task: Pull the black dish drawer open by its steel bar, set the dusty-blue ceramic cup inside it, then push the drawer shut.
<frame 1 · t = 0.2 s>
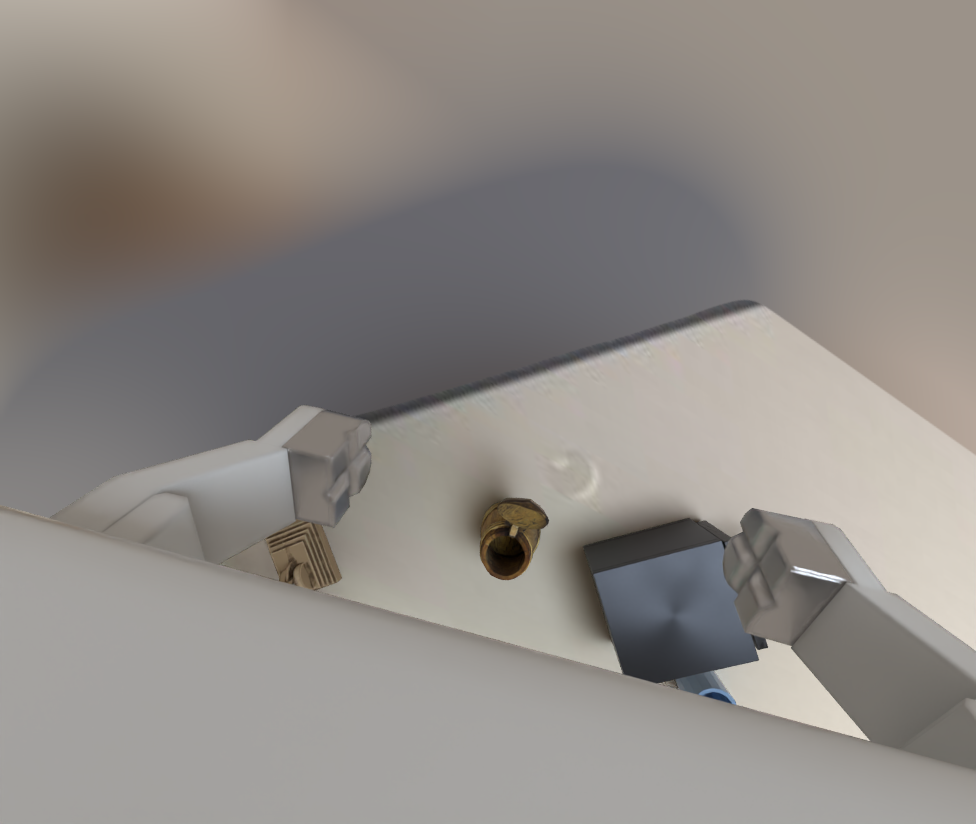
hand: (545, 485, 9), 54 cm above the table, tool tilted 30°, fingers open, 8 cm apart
dishwasher: (650, 580, 62), on the table
wooden mug: (515, 516, 64), on the table
banker's lamp: (294, 524, 67), on the table
cup: (695, 678, 61), on the table
drawer: (699, 587, 56), point 5 cm above the table, slide at 0.5 cm
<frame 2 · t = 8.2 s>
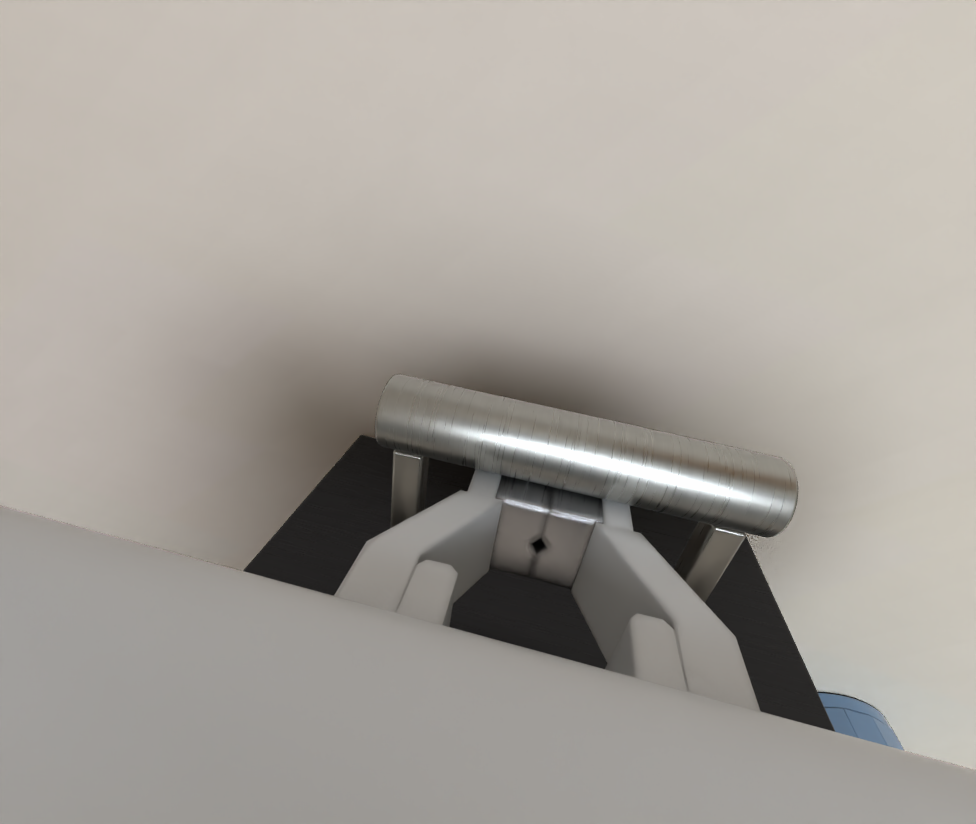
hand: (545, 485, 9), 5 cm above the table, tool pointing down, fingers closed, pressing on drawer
cup: (815, 728, 20), on the table
drawer: (501, 674, 13), point 5 cm above the table, slide at 4.1 cm, touching gripper
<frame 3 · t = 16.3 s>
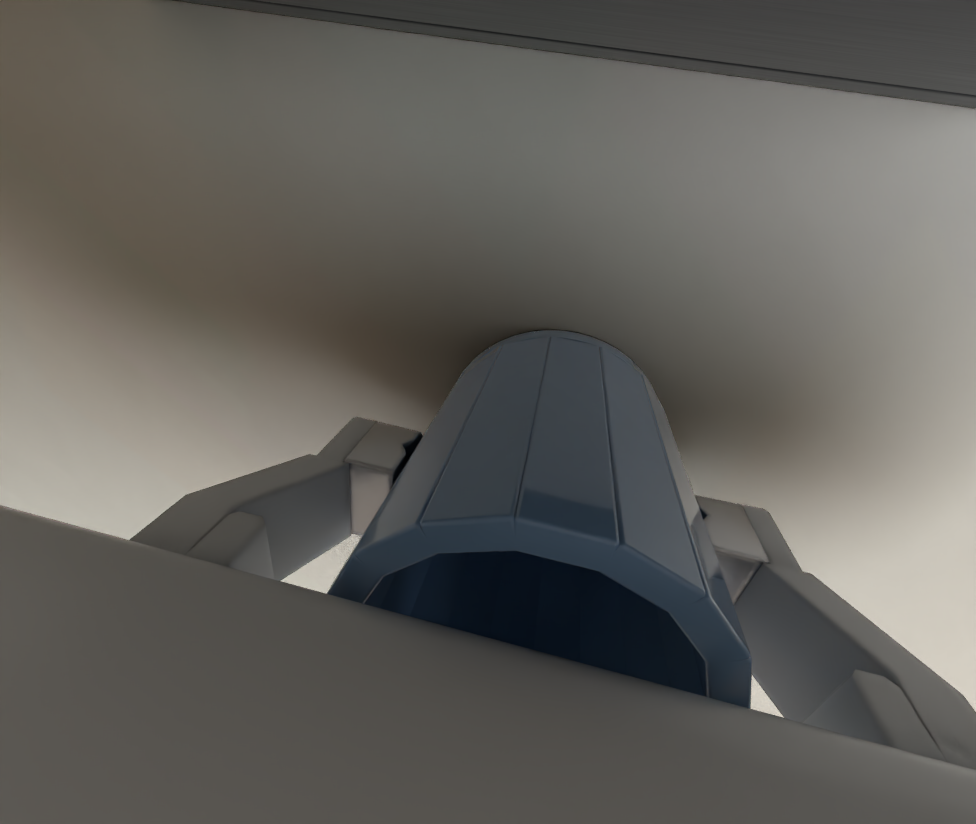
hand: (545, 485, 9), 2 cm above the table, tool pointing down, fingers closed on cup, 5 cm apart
cup: (550, 431, 11), on the table, touching gripper
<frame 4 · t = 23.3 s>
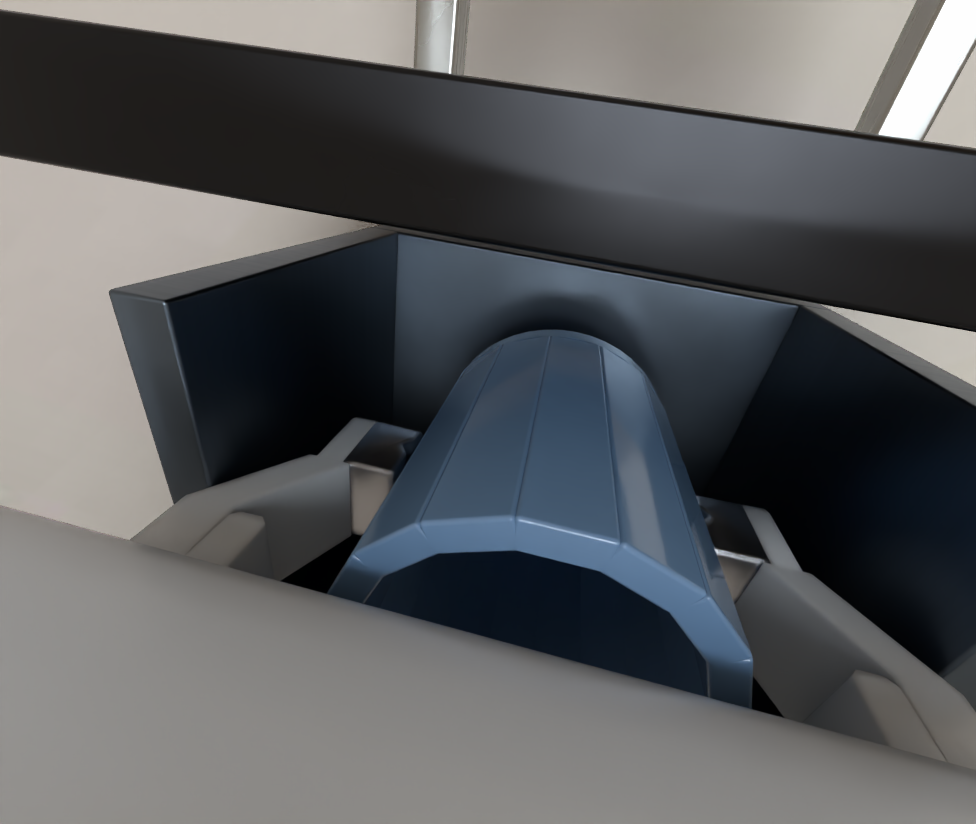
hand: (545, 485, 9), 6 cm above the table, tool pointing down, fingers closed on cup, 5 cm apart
cup: (550, 431, 11), point 4 cm above the table, touching gripper
drawer: (569, 389, 9), point 5 cm above the table, slide at 9.4 cm, touching gripper
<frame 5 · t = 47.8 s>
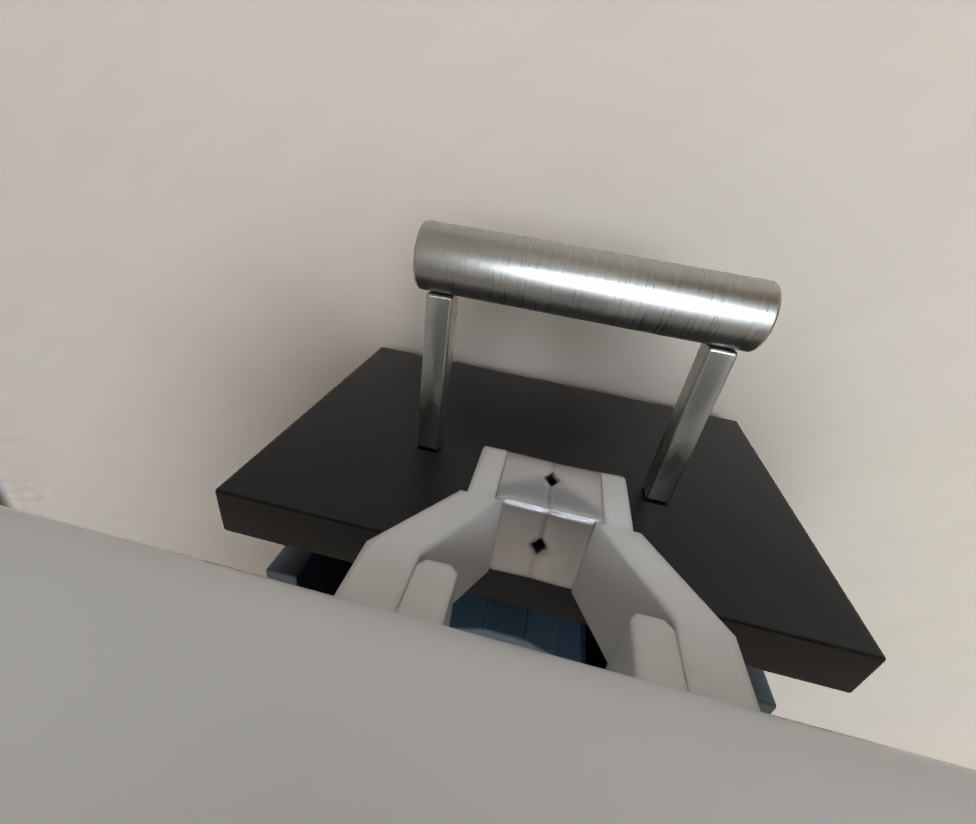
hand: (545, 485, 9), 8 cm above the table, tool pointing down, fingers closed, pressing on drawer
cup: (516, 533, 18), point 2 cm above the table, touching drawer
drawer: (515, 554, 14), point 5 cm above the table, slide at 7.8 cm, touching cup, gripper
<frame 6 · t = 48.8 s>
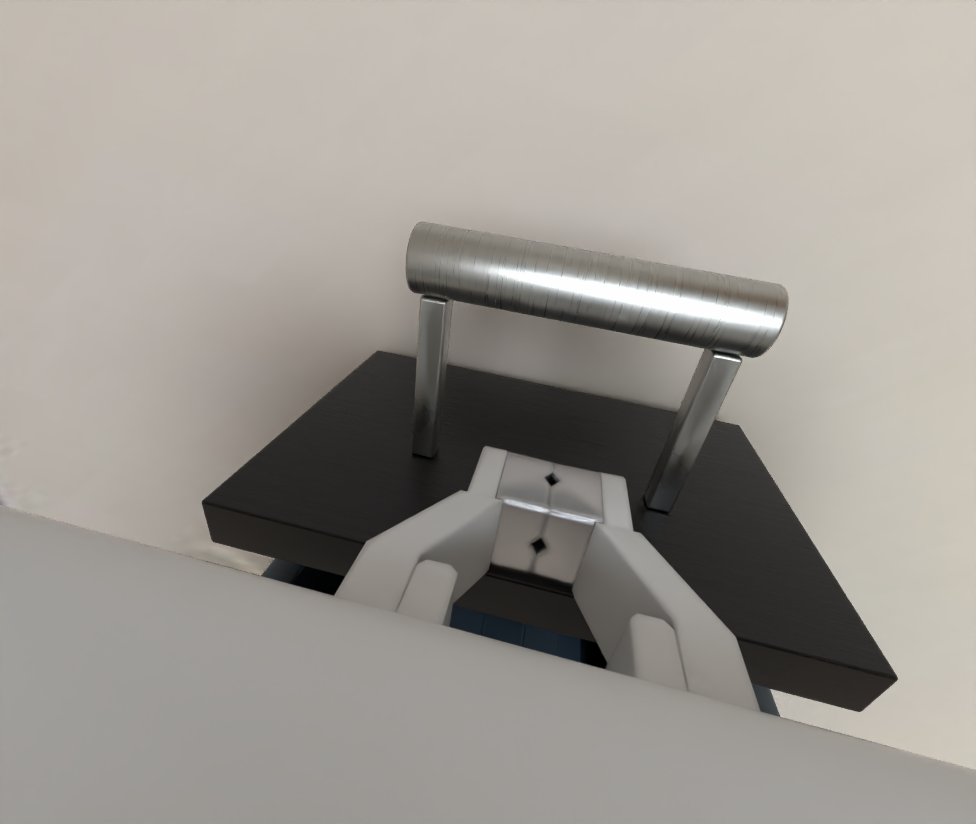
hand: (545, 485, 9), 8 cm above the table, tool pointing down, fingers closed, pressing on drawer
cup: (515, 539, 18), point 2 cm above the table, touching drawer
drawer: (514, 562, 14), point 5 cm above the table, slide at 3.8 cm, touching cup, gripper
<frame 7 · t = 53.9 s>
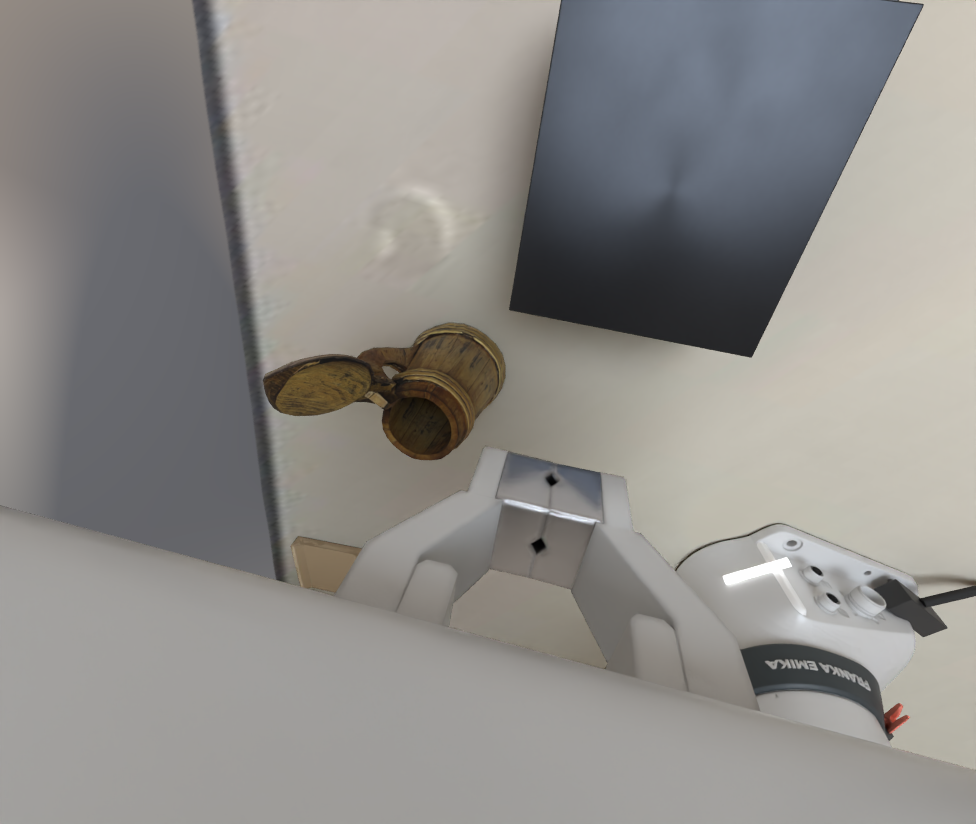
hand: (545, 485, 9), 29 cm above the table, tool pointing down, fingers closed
dishwasher: (646, 185, 31), on the table
wooden mug: (442, 350, 40), on the table
banker's lamp: (364, 569, 58), on the table
drawer: (684, 98, 24), point 5 cm above the table, slide at 0.0 cm, touching cup
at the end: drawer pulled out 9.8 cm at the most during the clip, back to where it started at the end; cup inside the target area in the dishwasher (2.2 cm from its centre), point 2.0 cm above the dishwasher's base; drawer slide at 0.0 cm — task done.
